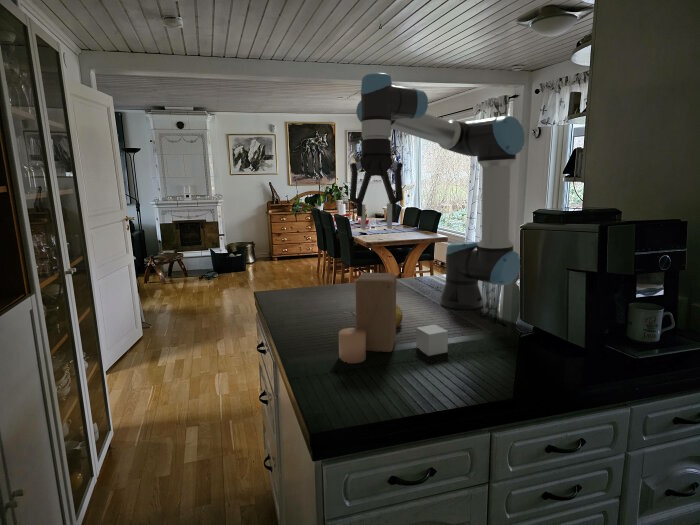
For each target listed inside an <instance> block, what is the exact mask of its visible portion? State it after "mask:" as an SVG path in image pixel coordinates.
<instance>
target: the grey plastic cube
mask: <svg viewBox="0 0 700 525" xmlns="http://www.w3.org/2000/svg"><path fill="white" fill-rule="evenodd" d="M415 334H416V339H415V340H416V341H415V348H416V347H417V348H419V349H420V350H421V351H422V353H423V354H425V355H426V356H428V357H431V356H434V355H440V354H445V353H448V348H449V347H448V343H449V341H448V340H449V337H448V336H449V331H448V330H446V329H445V328H442V327H441V326H439V325H437V324H429V325H424V326H419V327H416V332H415ZM417 348H416V349H417ZM420 350H419V351H420ZM421 351H420V352H421Z"/></svg>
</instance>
